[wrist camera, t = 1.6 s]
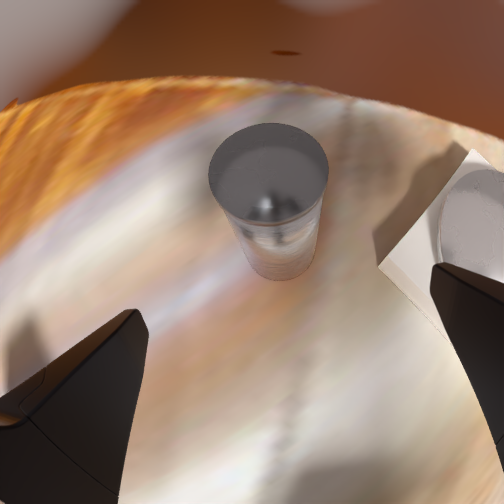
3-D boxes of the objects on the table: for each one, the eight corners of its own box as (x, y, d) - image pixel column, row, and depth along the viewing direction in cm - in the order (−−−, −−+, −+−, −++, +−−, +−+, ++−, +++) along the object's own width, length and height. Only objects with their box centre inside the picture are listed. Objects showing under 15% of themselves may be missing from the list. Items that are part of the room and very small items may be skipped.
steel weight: (331, 247, 22) (352, 167, 12) (278, 297, 21) (263, 247, 12) (281, 201, 23) (270, 108, 14) (230, 246, 23) (186, 170, 13)
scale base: (553, 264, 18) (568, 256, 15) (489, 390, 16) (507, 391, 14) (462, 162, 22) (473, 146, 20) (377, 266, 21) (386, 255, 18)
